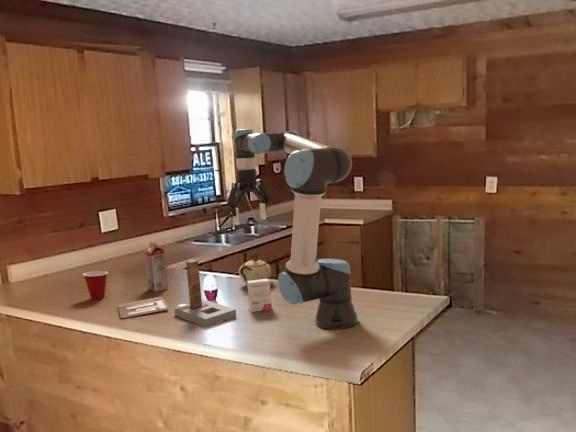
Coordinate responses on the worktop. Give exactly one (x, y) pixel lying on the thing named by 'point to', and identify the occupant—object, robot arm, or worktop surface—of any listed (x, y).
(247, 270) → the sugar bowl
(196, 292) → the walnut rod
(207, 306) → the grey flat block
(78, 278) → the worktop surface
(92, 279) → the plastic cup
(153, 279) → the juice carton
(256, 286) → the ink box
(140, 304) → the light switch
